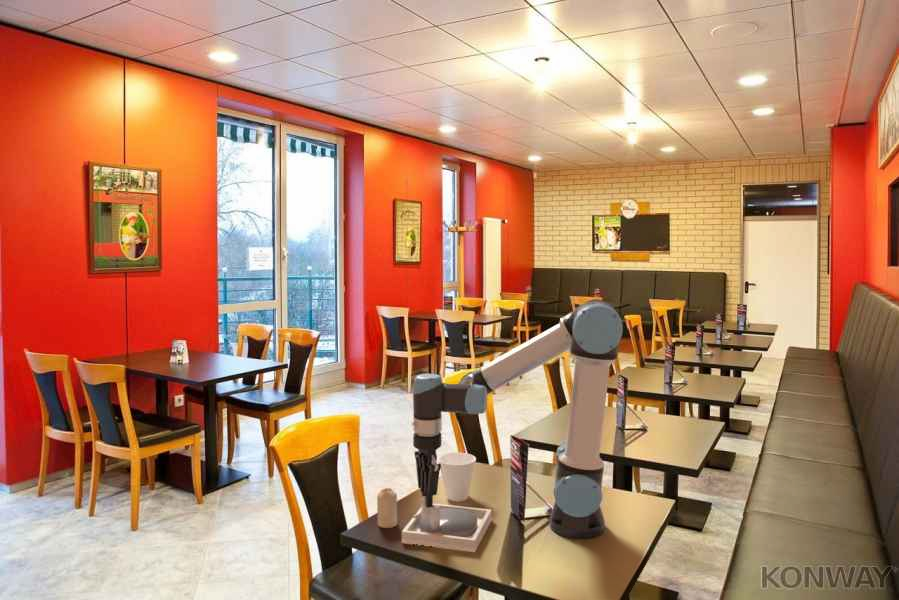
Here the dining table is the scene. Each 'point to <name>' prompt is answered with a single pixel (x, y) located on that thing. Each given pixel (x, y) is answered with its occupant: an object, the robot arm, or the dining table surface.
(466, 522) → the dial
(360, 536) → the dining table surface
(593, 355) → the robot arm
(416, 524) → the dial plate
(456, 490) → the cup
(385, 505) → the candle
